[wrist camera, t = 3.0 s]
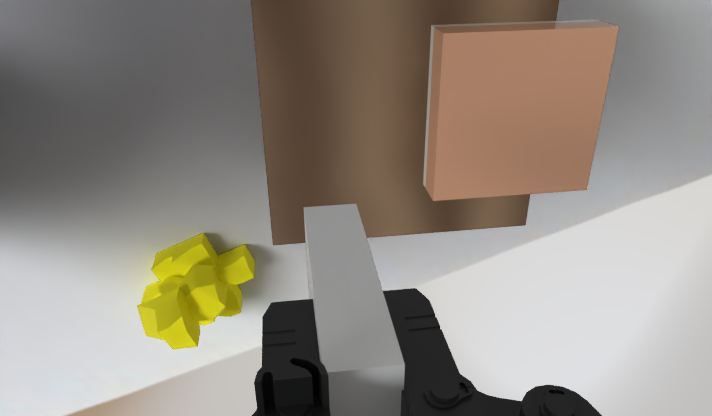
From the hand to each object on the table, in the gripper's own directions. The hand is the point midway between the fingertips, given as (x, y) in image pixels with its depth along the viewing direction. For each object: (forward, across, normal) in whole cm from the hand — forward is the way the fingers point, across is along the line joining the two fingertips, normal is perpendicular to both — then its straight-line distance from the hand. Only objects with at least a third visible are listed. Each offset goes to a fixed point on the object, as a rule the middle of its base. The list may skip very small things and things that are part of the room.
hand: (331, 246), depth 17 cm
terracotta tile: (+12, +10, 0) cm, 15 cm away
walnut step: (+22, +5, 0) cm, 22 cm away
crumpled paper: (+22, -8, -15) cm, 28 cm away
